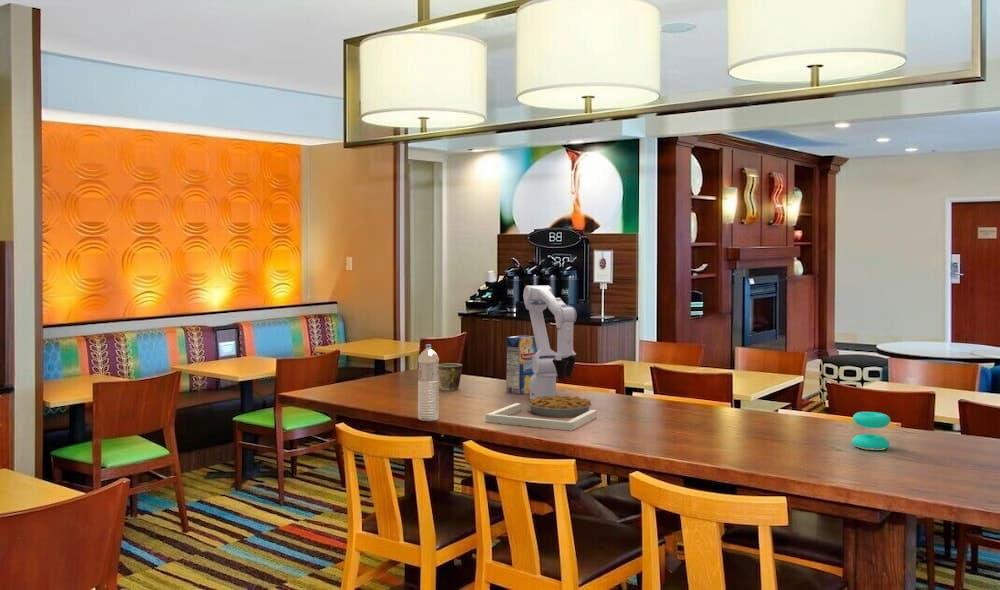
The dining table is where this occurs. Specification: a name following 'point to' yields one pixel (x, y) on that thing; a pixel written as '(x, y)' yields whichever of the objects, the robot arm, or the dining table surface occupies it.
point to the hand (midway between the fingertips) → (564, 377)
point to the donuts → (871, 422)
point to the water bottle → (428, 385)
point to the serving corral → (537, 419)
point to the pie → (559, 406)
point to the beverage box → (519, 363)
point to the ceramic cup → (449, 375)
